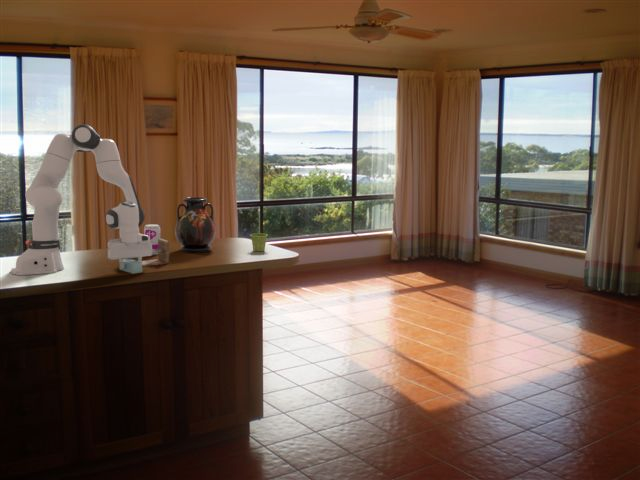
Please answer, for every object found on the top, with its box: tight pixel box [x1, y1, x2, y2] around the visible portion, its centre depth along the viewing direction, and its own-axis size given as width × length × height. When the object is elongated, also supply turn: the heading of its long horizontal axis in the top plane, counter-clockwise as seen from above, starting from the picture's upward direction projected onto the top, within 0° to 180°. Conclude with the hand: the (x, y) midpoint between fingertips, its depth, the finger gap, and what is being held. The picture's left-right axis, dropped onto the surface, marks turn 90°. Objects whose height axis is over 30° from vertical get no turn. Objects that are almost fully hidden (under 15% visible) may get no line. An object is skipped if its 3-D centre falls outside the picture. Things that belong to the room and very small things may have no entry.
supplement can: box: [143, 223, 162, 256], centre depth 359 cm, size 8×8×15 cm
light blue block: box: [119, 258, 143, 274], centre depth 317 cm, size 5×12×4 cm, turn 44°
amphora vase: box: [174, 196, 217, 254], centre depth 369 cm, size 22×22×28 cm
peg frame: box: [127, 238, 170, 267], centre depth 333 cm, size 17×9×11 cm, turn 126°
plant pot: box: [249, 233, 268, 252], centre depth 371 cm, size 9×9×9 cm
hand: (130, 267), depth 318 cm, fingers closed on light blue block, 5 cm apart
